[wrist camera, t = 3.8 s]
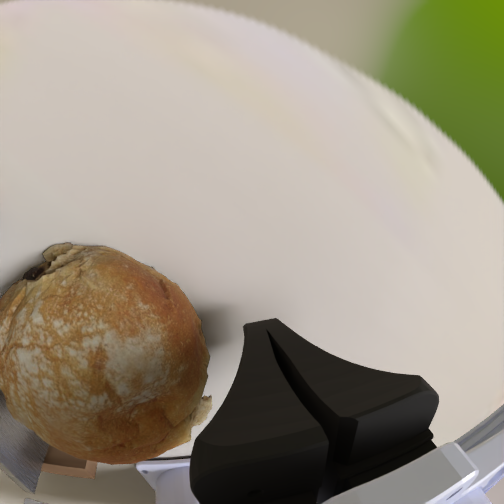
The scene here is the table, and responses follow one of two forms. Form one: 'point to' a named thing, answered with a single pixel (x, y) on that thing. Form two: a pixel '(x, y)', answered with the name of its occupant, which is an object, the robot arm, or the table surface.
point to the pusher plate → (20, 450)
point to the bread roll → (102, 356)
